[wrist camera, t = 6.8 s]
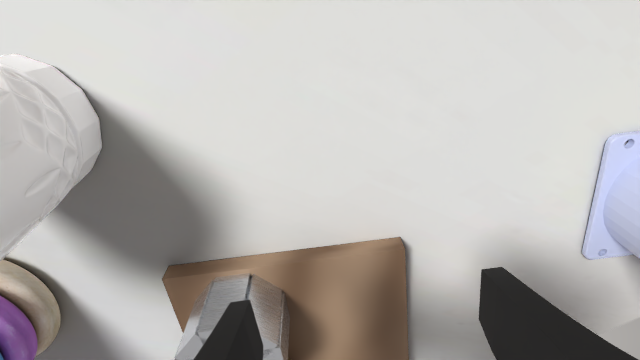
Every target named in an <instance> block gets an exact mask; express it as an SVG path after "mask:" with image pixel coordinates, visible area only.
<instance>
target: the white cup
mask: <svg viewBox="0 0 640 360" xmlns="http://www.w3.org/2000/svg"><path fill="white" fill-rule="evenodd" d="M101 149H102V140H101V131H100V121H99V117H98V116H97V114H96V112H95V111H94V109H93V107H92V105H91V104H90V102H89V100H88V99H87V97H86V95H85V94H84V92H83V90H82V89H81V88H80V87H78V86H77V85H76V84H75V83H73V82H72V81H71V80H70V79H68V78H67V77H66V76H65V75H63V74H62V73H61V72H60V71H59V70H57V69H56V68H55V67H54V66H52V65H49V64H46V63H43V62H40V61H37V60H34V59H31V58H28V57H25V56H22V55H20V54H7V55H0V261H2V260H3V259H4V258H5V257H6V256H7V255H8V254H9V253H10V252H11V251H12V250H13V249H14V248H15V247H16V246H17V245H18V244H19V243H20V242H21V241H22V240H23V239H25V238H26V237H27V236H28V235H29V234H30V233H31V232H32V231H33V230H34V229H35V228H36V227H37V226H38V225H39V224H40V223H41V221H42V220H43V219H44V218H45V217H46V216H47V215H48V214H49V213H50V212H51V211H52V210H53V209H55V208H56V207H57V206H58V205H59V203H60V202H61V201H62V200H63V199H64V197H65V196H66V195H67V194H68V192H69V191H70V190H71V189H72V188H73V187H74V186H75V185H76V184H77V183H78V182H79V181H80V180H82V179H83V178H84V177H85V176H86V175H87V174H88V173H89V172H90V171H91V170H92V168H93V166H94V164H95V162H96V159H97V157H98V155H99V153H100V151H101Z"/></svg>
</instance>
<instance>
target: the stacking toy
mask: <svg viewBox="0 0 640 360" xmlns="http://www.w3.org/2000/svg"><path fill="white" fill-rule="evenodd" d="M60 322H61V316H60V310H59V306H58V304H57V301H56V299H55V297H54V296H53V294H52V293H51V291H50V290H49V289H48V288H47V287H46V285H45V284H44V283H43V282H42V281H40V280H39V279H38V278H37V277H36V276H34V275H33V274H32V273H30V272H29V271H27V270H25V269H24V268H22V267H20V266H18V265H16V264H13V263H11V262H8V261H6V260H2V261H0V360H34V359H35V357H36V356H37V355H39V354H41V353H42V352H43V351H44V350H46V349H47V348H48V347H49V346H50V345H51V343H52V342H53V341H54V339H55V338H56V336H57V334H58V331H59V328H60Z"/></svg>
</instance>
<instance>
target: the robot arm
mask: <svg viewBox="0 0 640 360" xmlns="http://www.w3.org/2000/svg"><path fill="white" fill-rule="evenodd" d="M627 140H629V141H628V143H627V144H626V145H624V144H625V142H626V141H627ZM601 249H602V250H601ZM600 250H601V251H600ZM582 254H583V255H584V256H585V257H586V258H587V259H589V260H593V259H601V258H610V257H618V256H626V255H635V256H637V257H638V258H639V259H640V131H635V132H627V133H619V134H615V135H612V136H611V137H609V138H608V140H607V141H606V143H605V147H604V152H603V157H602V161H601V166H600V170H599V175H598V180H597V184H596V189H595V194H594V198H593V203H592V207H591V212H590V217H589V221H588V226H587V231H586V235H585V240H584V244H583V249H582ZM479 321H480V323H481V326H482V328H483V331H484V333H485V336H486V338H487V340H488V343H489V345H490V347H491V350H492V352H493V354H494V356H495V357H496V359H497V360H638V359H636V358H634V357H633V356H631V355H629V354H627V353H626V352H624V351H622V350H620V349H619V348H617V347H615V346H614V345H612V344H610V343H608V342H607V341H606V340H604V339H602V338H601V337H599V336H598V335H596V334H595V333H593V332H592V331H590V330H589V329H587V328H585V327H584V326H582V325H581V324H579V323H578V322H576V321H575V320H573V319H572V318H570V317H569V316H568V315H566V314H565V313H563V312H562V311H560V310H559V309H558V308H556V307H555V306H553V305H552V304H551V303H549V302H548V301H547V300H545V299H544V298H542V297H541V296H540V295H538V294H537V293H536V292H534V291H533V290H532V289H530V288H529V287H528V286H526V285H525V284H524V283H522V282H521V281H520V280H518V279H517V278H516V277H515V276H513V275H512V274H511V273H509V272H508V271H507V270H505V269H504V268H502V267H498V268H490V269H482V272H481V289H480V307H479ZM193 360H263V342H262V339H261V336H260V332H259V329H258V325H257V322H256V318H255V315H254V312H253V308H252V305H251V301H250V300H243V301H236V302H231V303H230V304H229V305H228V307H227V308H226V310H225V311H224V313H223V315H222V316H221V318H220V320H219V321H218V323H217V324H216V326H215V328H214V329H213V331H212V332H211V334H210V335H209V337H208V339H207V340H206V342H205V343H204V345H203V346H202V348H201V349H200V351H199V352H198V354H197V355H196V357H195V358H194V359H193Z"/></svg>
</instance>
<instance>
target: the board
mask: <svg viewBox="0 0 640 360" xmlns="http://www.w3.org/2000/svg"><path fill="white" fill-rule="evenodd" d="M245 273H250V276H252V275H253V274H255V275H257V276H259V277H261V278H263V279H264V280H266V281H268V282H270V283H272V284H274V285H275V286H277V287H279V288H281V289H282V292H284V293H285V297H286V302H287V306H288V310H289V315H290V325H289V346H288V360H409V354H408V325H407V295H406V265H405V248H404V245H403V243H402V240H401V238H400V237H397V238H389V239H381V240H373V241H365V242H357V243H349V244H341V245H333V246H325V247H317V248H309V249H300V250H292V251H284V252H276V253H268V254H260V255H252V256H244V257H236V258H228V259H220V260H212V261H204V262H196V263H188V264H180V265H172V266H168V268H167V270H166V272H165V274H164V276H163V278H162V281H163V283H164V286H165V288H166V291H167V293H168V296H169V298H170V301H171V304H172V306H173V309H174V311H175V314H176V316H177V319H178V321H179V324H180V326H181V329H182V332H183V333H184V330H185V328H186V325H187V322H188V319H189V317H190V314H191V311H192V308H193V306H194V303H195V300H196V299H197V298H198V297H199V295H200V294H201V293H202V292H203V290H204V289H205V288H206V287H207V285H208V284H209V283H210V282H211V280H212V279H213V280H215V278H216V277H223V276H230V275H238V274H245Z"/></svg>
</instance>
